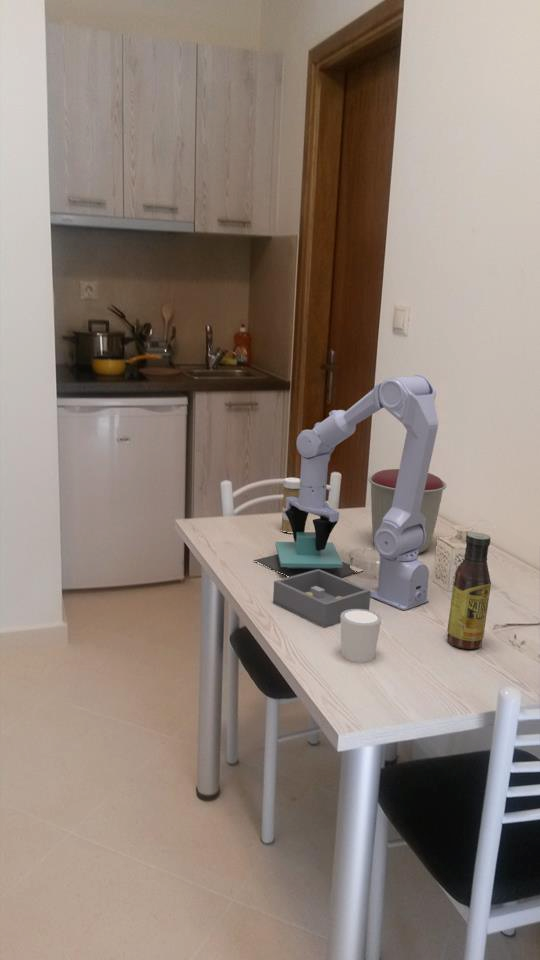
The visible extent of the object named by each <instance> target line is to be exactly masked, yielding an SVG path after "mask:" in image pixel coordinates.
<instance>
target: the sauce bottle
mask: <svg viewBox="0 0 540 960" xmlns="http://www.w3.org/2000/svg"><path fill="white" fill-rule="evenodd" d="M491 539H492V538H491V536H489V535H488V534H486V533H482V532H477V531H476V532H468V533H466V537H465V542H466V545H465V552H464V555H463V556H464V559H463V560H462V561H461V563H460V564H459V565H458V567H457V568H456V571H455V575H454V582H453V585H452V586H453V587H452V593H451V600H450V606H449V607H450V608H449V613H448V615H449V616H448V622H447V629H446V631H447V637H446V639H447V642H448V643H449V644H450V645H452V646H454V647H456V648H459V649H466V650H475V649H477V648H479V647H481V645H482V642H483V639H484V635H485V628H486V621H487V616H488V615H487V614H488V606H489V601H490V593H491V586H492V581H491V576H490V571H489V567H488V566H489V565H488V555H489V553H488V552H489V548H490V547H489V546H490V544H491Z"/></svg>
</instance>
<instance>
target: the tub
mask: <svg viewBox="0 0 540 960" xmlns="http://www.w3.org/2000/svg"><path fill="white" fill-rule="evenodd" d="M371 592H372V591H371V590H370V589H368V588H366V587H363V586H361V585H359V584H356V583H354V582H351V581H349V580H346V579H343V578H339V577H337V576H335V575H332V574H330V573H327V572H325V571H322V570H320V569H317V570H313V571H309V572H306V573H302V574H298V575H295V576H291V577H287V576H286V577H285V578H281V579H276V580H274V581H273V597H272V604H275V605H276V606H279V607H280V608H282V609H285V610H286V611H289V612H290V613H292V614H295V615H297V616H299V617H301V618H303V619H305V620H306V621H310V622H311V623H313V624H315V625H317V626H320V627H322V628H324V629H326V628H328V627H332V626H335V625H337V624H339V623H340V624H341V619H340V616H341V613H342V612H344V611H345V610H350V609H364V610H369V611H370V603H371V596H370V594H371Z"/></svg>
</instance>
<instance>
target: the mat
mask: <svg viewBox="0 0 540 960" xmlns="http://www.w3.org/2000/svg"><path fill="white" fill-rule="evenodd" d="M254 561H257V562H259V563H261V564H263V565H265V566H267V567H269V568H271V569H273V570H275V571H274V572H276V571H278V572H280V573H283V574H285V575H287V576H289V577H291V576H295V575H298V574H302V573H306V572H309V571H313V570H317V568H287V567H281V566H280V561H279V557H278V553H276V554H273V555H269V556H267V557H262V558H258V559H253V562H254ZM342 563H343V568H334V569H320V570H322V571H325V572H327V573H330V574H332V575H335V576H337V577H339V578H342V579H343V578H346V577H349V576H352V574H353V575H356V574H357V573H356V572H357V571H356V572H355V571H354V570H352V569H351V568H350V565H351V564H350V563H347V562H344V561H342ZM269 568H268V569H269ZM271 569H270V570H271ZM273 570H272V571H273ZM278 572H277V573H278ZM280 573H279V574H280ZM355 573H356V574H355ZM285 575H284V576H285ZM287 576H286V577H287Z"/></svg>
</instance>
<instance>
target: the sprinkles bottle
mask: <svg viewBox="0 0 540 960" xmlns="http://www.w3.org/2000/svg"><path fill="white" fill-rule="evenodd" d="M282 486H283V497H282V513H281V528H280V531H281V530H282V531H286V532H292V528H291V524H290V522H289V519H288V517H287V515H286V514H285V512H286V510H290V507H287V506H286V498H287V497H296V498H299V490H300V477H286V478H284V479H283V485H282ZM282 531H281V532H282Z"/></svg>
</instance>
